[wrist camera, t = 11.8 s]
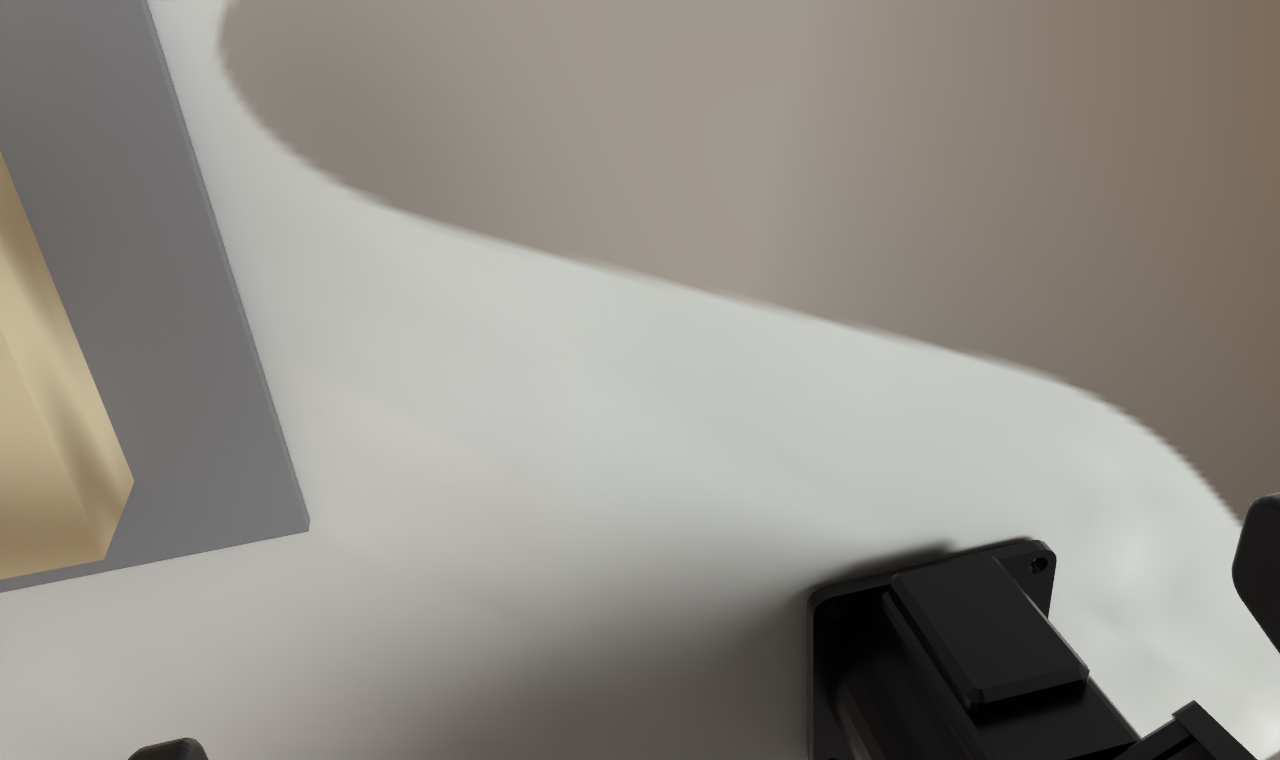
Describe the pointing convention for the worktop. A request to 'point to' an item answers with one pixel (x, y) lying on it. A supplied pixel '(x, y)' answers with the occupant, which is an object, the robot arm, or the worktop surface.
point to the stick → (48, 419)
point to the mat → (141, 281)
